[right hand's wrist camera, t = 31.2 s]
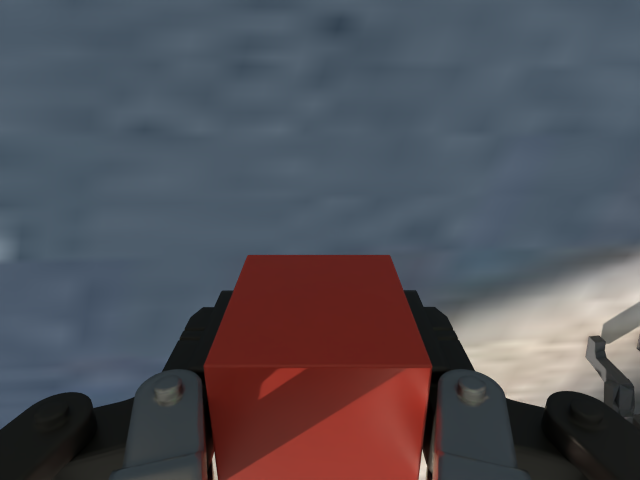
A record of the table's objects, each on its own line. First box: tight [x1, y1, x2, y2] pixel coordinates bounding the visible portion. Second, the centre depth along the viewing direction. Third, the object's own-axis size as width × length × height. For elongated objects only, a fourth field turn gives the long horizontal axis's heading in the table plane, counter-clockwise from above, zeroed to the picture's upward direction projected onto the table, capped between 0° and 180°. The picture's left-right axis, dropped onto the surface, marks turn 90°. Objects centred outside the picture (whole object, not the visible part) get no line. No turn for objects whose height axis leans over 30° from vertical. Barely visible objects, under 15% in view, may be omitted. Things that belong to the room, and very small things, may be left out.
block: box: [203, 255, 432, 480], centre depth 10 cm, size 4×4×5 cm
